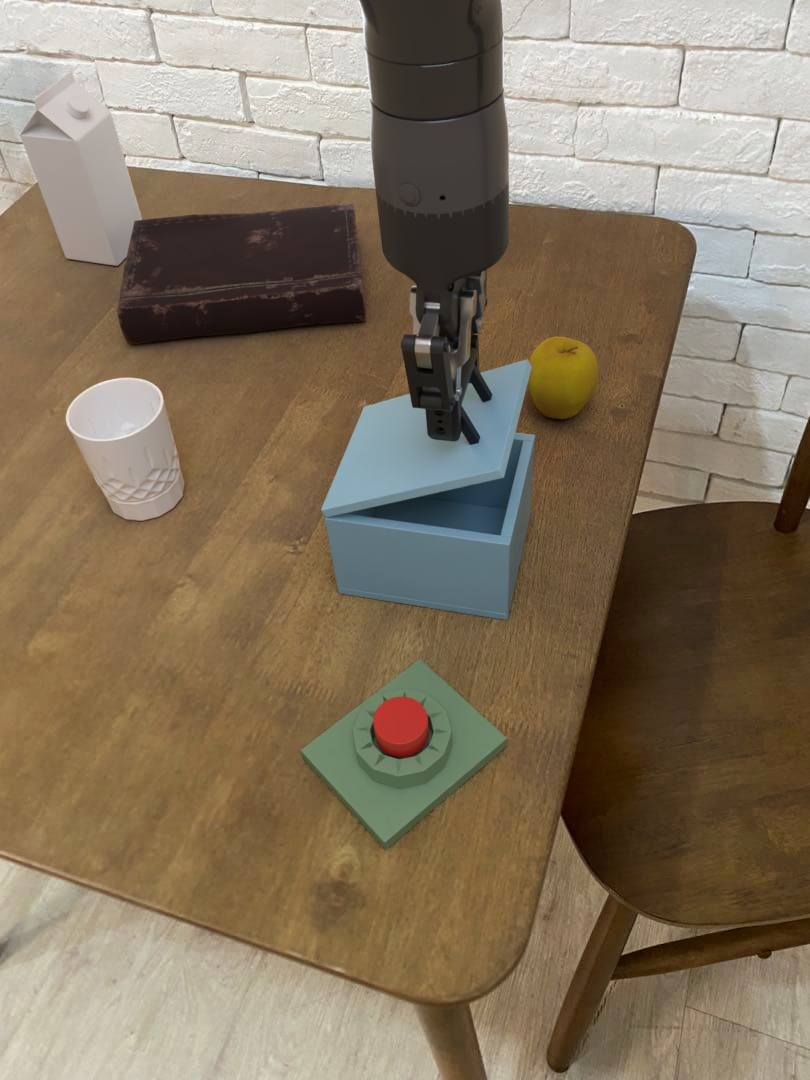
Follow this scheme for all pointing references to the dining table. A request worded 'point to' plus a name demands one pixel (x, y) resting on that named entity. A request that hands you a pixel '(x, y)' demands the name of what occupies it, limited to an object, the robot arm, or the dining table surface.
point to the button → (401, 726)
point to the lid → (430, 443)
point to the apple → (562, 376)
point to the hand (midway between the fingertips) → (454, 406)
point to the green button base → (403, 782)
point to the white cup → (128, 446)
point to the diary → (241, 273)
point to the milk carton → (81, 173)
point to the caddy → (441, 544)
